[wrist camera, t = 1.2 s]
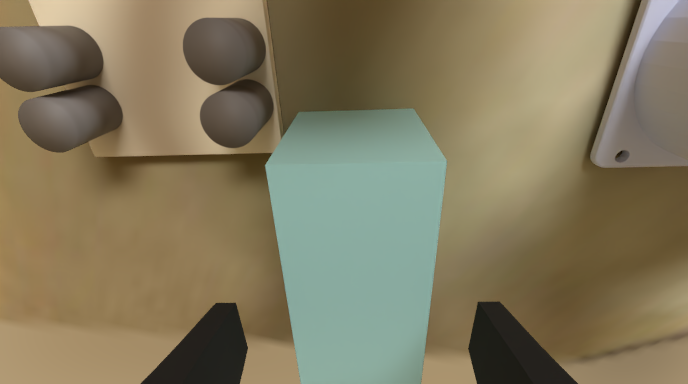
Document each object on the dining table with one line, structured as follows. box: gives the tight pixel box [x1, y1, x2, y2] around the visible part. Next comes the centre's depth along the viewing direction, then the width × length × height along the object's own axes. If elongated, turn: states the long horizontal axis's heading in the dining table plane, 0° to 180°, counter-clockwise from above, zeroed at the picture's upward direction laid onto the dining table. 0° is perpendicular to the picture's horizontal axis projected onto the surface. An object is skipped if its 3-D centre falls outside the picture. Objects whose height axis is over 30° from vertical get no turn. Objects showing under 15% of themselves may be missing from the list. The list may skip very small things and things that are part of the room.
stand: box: [0, 0, 284, 157], centre depth 11 cm, size 8×7×3 cm
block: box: [265, 109, 447, 384], centre depth 13 cm, size 10×5×6 cm, turn 2°
